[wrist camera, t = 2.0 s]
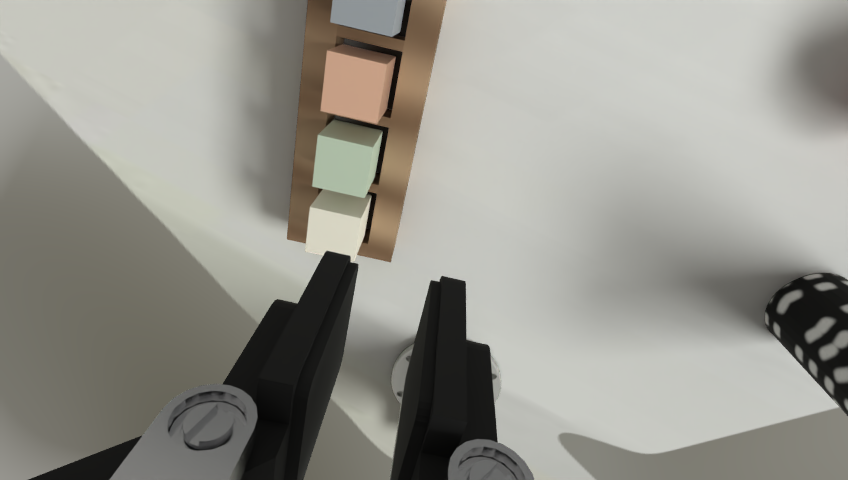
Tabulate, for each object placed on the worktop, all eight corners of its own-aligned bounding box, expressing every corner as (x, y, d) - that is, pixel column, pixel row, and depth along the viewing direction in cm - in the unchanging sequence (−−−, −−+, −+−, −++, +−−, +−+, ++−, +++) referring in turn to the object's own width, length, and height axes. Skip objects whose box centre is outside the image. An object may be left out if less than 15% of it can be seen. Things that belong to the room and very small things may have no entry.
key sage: (374, 176, 42) (364, 198, 37) (328, 166, 42) (312, 186, 37) (382, 130, 40) (373, 147, 35) (333, 119, 40) (317, 134, 35)
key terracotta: (386, 109, 39) (376, 124, 35) (336, 97, 39) (320, 110, 34) (395, 56, 37) (386, 64, 33) (343, 43, 37) (327, 50, 32)
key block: (394, 247, 48) (390, 262, 45) (296, 225, 47) (286, 239, 45) (456, -48, 36) (456, -51, 33) (326, -80, 35) (315, -86, 33)
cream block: (364, 235, 45) (353, 262, 40) (320, 226, 44) (304, 251, 40) (371, 195, 43) (361, 218, 38) (325, 184, 42) (309, 206, 38)
